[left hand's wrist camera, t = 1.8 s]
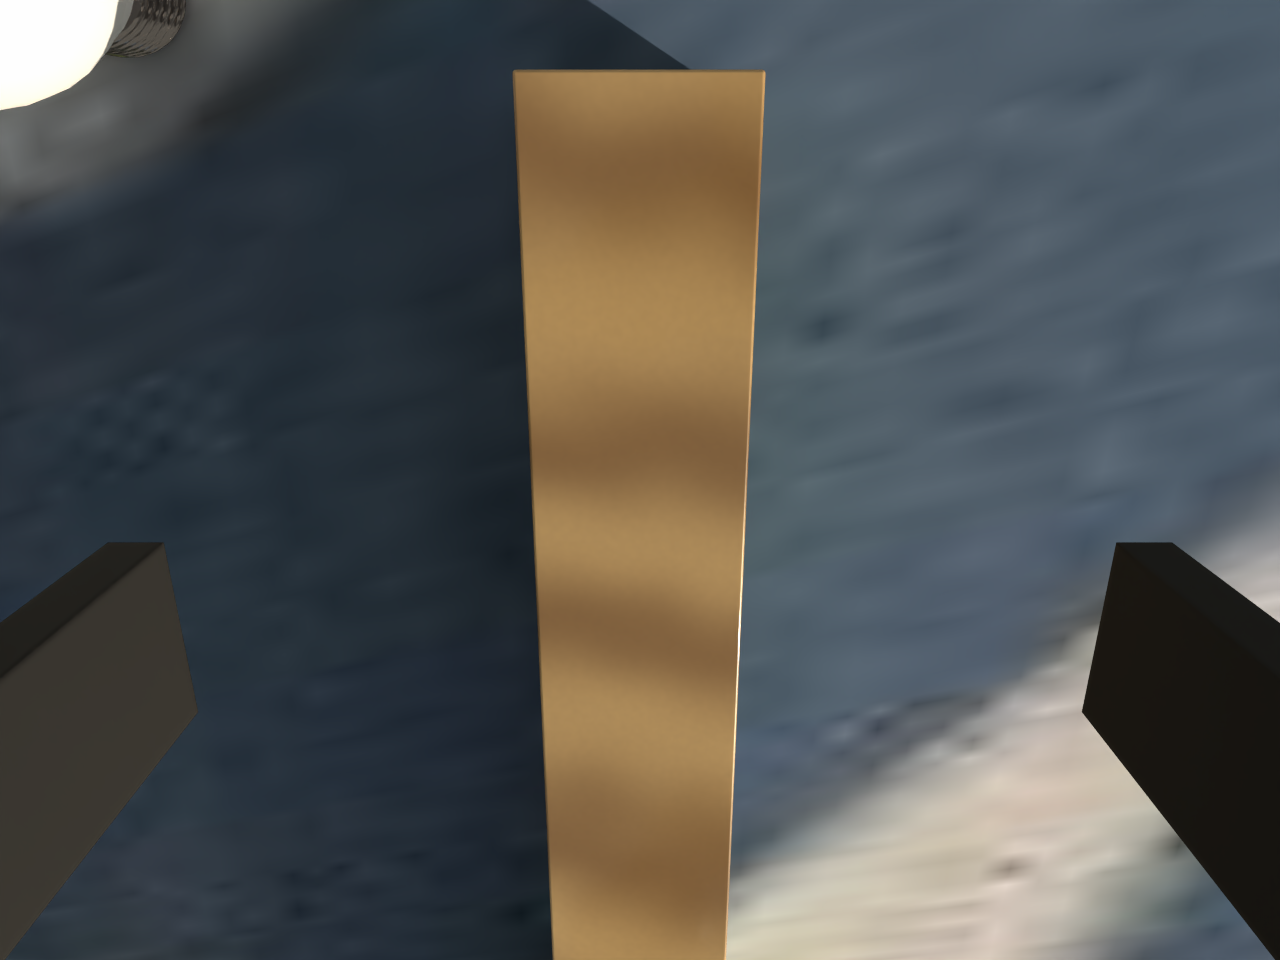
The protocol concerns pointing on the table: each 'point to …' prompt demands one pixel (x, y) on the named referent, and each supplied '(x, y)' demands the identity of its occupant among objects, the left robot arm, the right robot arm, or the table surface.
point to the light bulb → (74, 40)
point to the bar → (639, 487)
